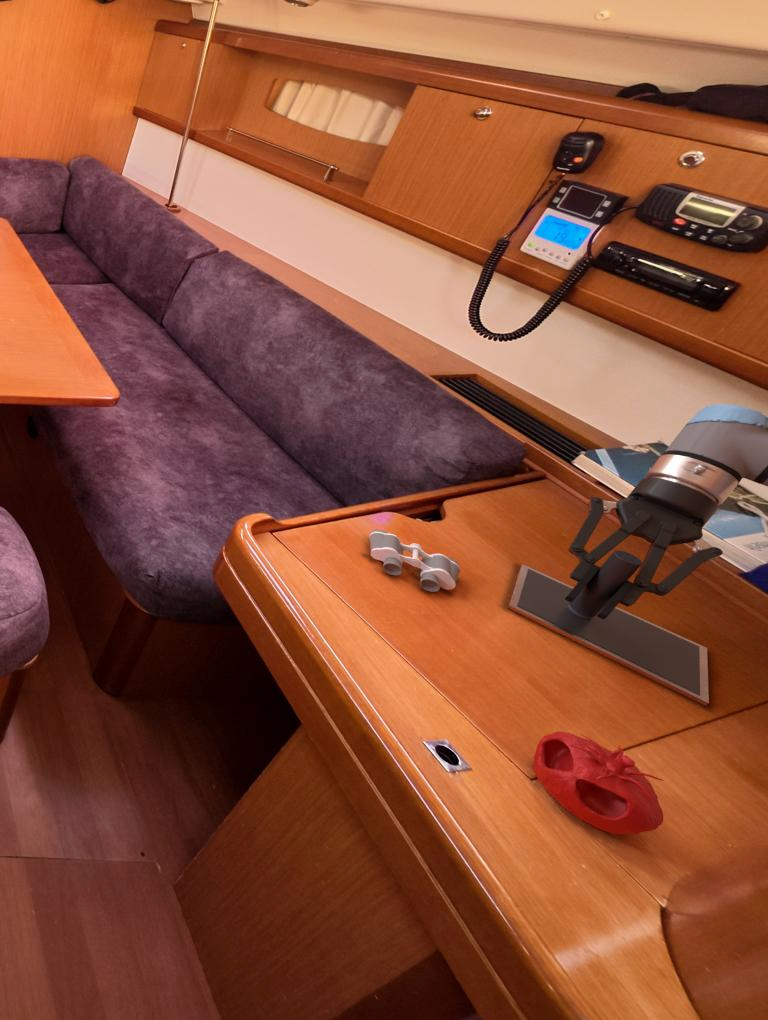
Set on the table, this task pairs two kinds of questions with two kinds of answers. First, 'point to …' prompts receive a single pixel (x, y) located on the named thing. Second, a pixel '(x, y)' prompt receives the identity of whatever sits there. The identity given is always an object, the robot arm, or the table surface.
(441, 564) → the binoculars
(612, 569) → the dark gray cylinder
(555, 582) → the tablet
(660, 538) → the robot arm
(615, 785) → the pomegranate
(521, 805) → the table surface
